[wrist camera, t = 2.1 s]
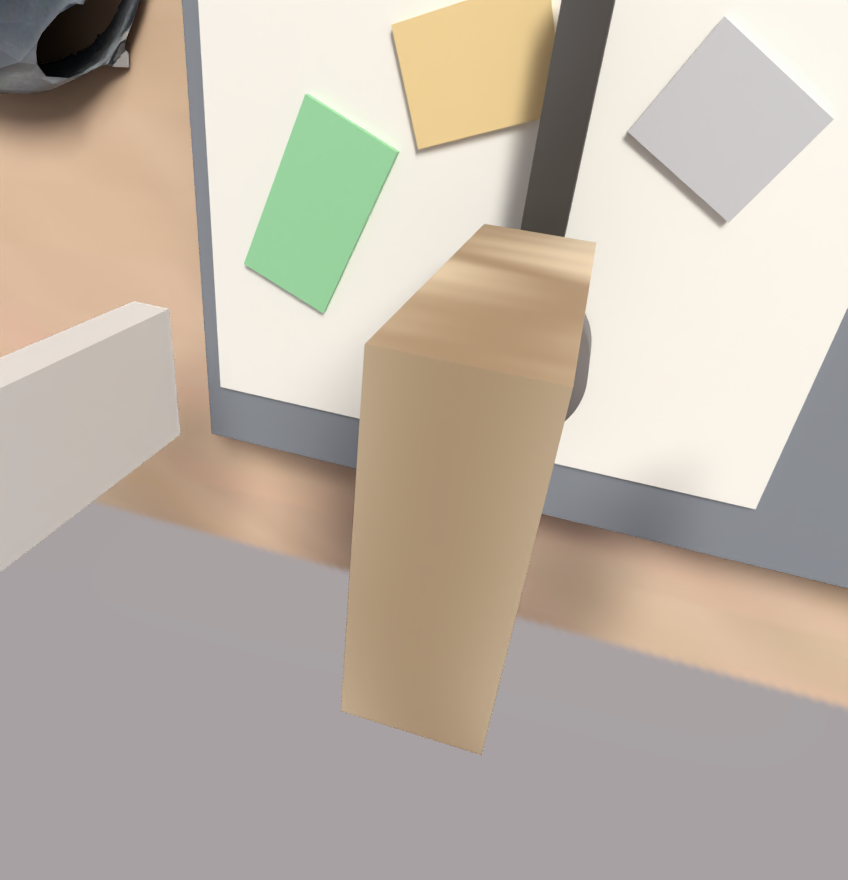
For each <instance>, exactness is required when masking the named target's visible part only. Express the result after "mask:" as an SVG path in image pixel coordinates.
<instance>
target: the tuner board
mask: <svg viewBox="0 0 848 880" xmlns="http://www.w3.org/2000/svg"><path fill="white" fill-rule="evenodd" d="M560 5H561V0H182V8H183V22H184V37H185V51H186V66H187V81H188V95H189V110H190V124H191V139H192V153H193V168H194V182H195V197H196V212H197V226H198V241H199V255H200V270H201V284H202V299H203V313H204V328H205V343H206V357H207V372H208V386H209V401H210V415H211V430H212V434H216V435H220V436H224V437H228V438H232V439H236V440H240V441H245V442H249V443H253V444H257V445H261V446H265V447H269V448H273V449H277V450H282V451H286V452H290V453H294V454H298V455H302V456H306V457H310V458H314V459H319V460H323V461H327V462H331V463H335V464H339V465H343V466H347V467H351V468H357V453H358V437H359V422H360V407H361V391H362V376H363V360H364V345H365V343H366V342H367V341H368V340H369V339H370V338H371V337H372V336H373V335H374V334H375V333H376V332H377V331H378V330H379V329H380V328H381V327H382V326H383V325H384V324H385V323H386V322H387V321H388V320H389V319H390V318H391V317H392V316H393V315H394V314H395V313H396V312H397V311H398V310H399V309H400V308H401V307H402V306H403V305H404V304H405V303H406V302H407V301H408V300H409V299H410V298H411V297H412V296H413V295H414V294H415V293H416V292H417V291H418V290H419V289H420V288H421V287H422V286H423V285H424V284H425V283H426V282H427V281H428V280H429V279H430V278H431V277H432V276H433V275H434V274H435V273H436V272H437V271H438V270H439V269H440V268H441V267H442V266H443V265H444V264H445V263H446V262H447V261H448V260H449V259H450V258H451V257H452V256H453V255H454V254H455V253H456V252H457V251H458V250H459V249H460V248H461V247H462V246H463V245H464V244H465V243H466V242H467V241H468V240H469V239H470V238H471V237H472V236H473V235H474V234H475V233H476V232H477V231H478V230H479V229H480V228H481V227H482V226H483V225H484V224H489V225H495V226H500V227H506V228H512V229H518V230H520V229H521V224H522V218H523V212H524V207H525V201H526V196H527V190H528V185H529V179H530V173H531V168H532V162H533V157H534V151H535V145H536V140H537V134H538V129H539V123H540V117H541V112H542V106H543V101H544V95H545V89H546V84H547V78H548V73H549V67H550V61H551V56H552V50H553V45H554V39H555V33H556V28H557V22H558V17H559V11H560ZM565 237H566V238H572V239H578V240H584V241H590V242H596V248H595V254H594V261H593V267H592V273H591V279H590V286H589V292H588V298H587V304H586V311H585V314H586V316H587V319H588V321H589V325H590V329H591V337H592V343H591V355H590V363H589V372H588V380H587V386H586V390H585V393H584V396H583V398H582V400H581V402H580V404H579V406H578V407H577V409H576V410H575V412H574V413H573V414H572V415H571V416H570V417H569V418H568V419H567V420H566V421H565V422H564V426H563V430H562V434H561V438H560V442H559V446H558V450H557V454H556V458H555V462H554V466H553V470H552V474H551V478H550V482H549V486H548V490H547V494H546V498H545V502H544V506H543V510H542V514H545V515H549V516H553V517H557V518H561V519H565V520H569V521H573V522H577V523H582V524H586V525H590V526H594V527H598V528H602V529H606V530H610V531H614V532H619V533H623V534H627V535H631V536H635V537H639V538H643V539H647V540H651V541H656V542H660V543H664V544H668V545H672V546H676V547H680V548H684V549H688V550H693V551H697V552H701V553H705V554H709V555H713V556H717V557H721V558H725V559H729V560H734V561H738V562H742V563H746V564H750V565H754V566H758V567H762V568H766V569H771V570H775V571H779V572H783V573H787V574H791V575H795V576H799V577H803V578H808V579H812V580H816V581H820V582H824V583H828V584H832V585H836V586H840V587H845V588H848V0H616V1H615V5H614V10H613V15H612V19H611V24H610V29H609V33H608V38H607V43H606V47H605V52H604V57H603V61H602V66H601V71H600V75H599V80H598V85H597V89H596V94H595V99H594V103H593V108H592V113H591V118H590V122H589V127H588V132H587V136H586V141H585V146H584V150H583V155H582V160H581V164H580V169H579V174H578V178H577V183H576V188H575V192H574V197H573V202H572V206H571V211H570V216H569V220H568V225H567V230H566V234H565Z"/></svg>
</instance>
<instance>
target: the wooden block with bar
mask: <svg viewBox="0 0 848 880" xmlns="http://www.w3.org/2000/svg"><path fill="white" fill-rule="evenodd" d="M615 1H616V0H561V5H560V11H559V17H558V22H557V28H556V33H555V39H554V45H553V50H552V56H551V61H550V67H549V73H548V78H547V84H546V89H545V95H544V101H543V106H542V112H541V117H540V123H539V129H538V134H537V140H536V145H535V151H534V157H533V162H532V168H531V173H530V179H529V185H528V190H527V196H526V201H525V207H524V212H523V218H522V224H521V229H520V230H518V229H512V228H506V227H500V226H495V225H489V224H484V225H483V226H482V227H481V228H480V229H479V230H478V231H477V232H476V233H475V234H474V235H473V236H472V237H471V238H470V239H469V240H468V241H467V242H466V243H465V244H464V245H463V246H462V247H461V248H460V249H459V250H458V251H457V252H456V253H455V254H454V255H453V256H452V257H451V258H450V259H449V260H448V261H447V262H446V263H445V264H444V265H443V266H442V267H441V268H440V269H439V270H438V271H437V272H436V273H435V274H434V275H433V276H432V277H431V278H430V279H429V280H428V281H427V282H426V283H425V284H424V285H423V286H422V287H421V288H420V289H419V290H418V291H417V292H416V293H415V294H414V295H413V296H412V297H411V298H410V299H409V300H408V301H407V302H406V303H405V304H404V305H403V306H402V307H401V308H400V309H399V310H398V311H397V312H396V313H395V314H394V315H393V316H392V317H391V318H390V319H389V320H388V321H387V322H386V323H385V324H384V325H383V326H382V327H381V328H380V329H379V330H378V331H377V332H376V333H375V334H374V335H373V336H372V337H371V338H370V339H369V340H368V341H367V342H366V343H365V345H364V360H363V376H362V391H361V407H360V422H359V437H358V453H357V468H356V484H355V499H354V515H353V530H352V545H351V561H350V576H349V592H348V607H347V624H346V638H345V653H344V671H343V686H342V700H341V711H343V712H346V713H349V714H352V715H355V716H358V717H362V718H365V719H368V720H371V721H374V722H378V723H381V724H384V725H387V726H390V727H393V728H397V729H400V730H403V731H406V732H409V733H412V734H416V735H419V736H422V737H425V738H428V739H432V740H435V741H438V742H441V743H444V744H448V745H451V746H454V747H457V748H460V749H464V750H467V751H470V752H473V753H476V754H480V755H482V751H483V747H484V743H485V739H486V735H487V731H488V727H489V723H490V719H491V715H492V711H493V707H494V702H495V699H496V695H497V691H498V687H499V683H500V679H501V675H502V671H503V667H504V663H505V659H506V655H507V651H508V646H509V643H510V639H511V635H512V631H513V627H514V623H515V619H516V615H517V611H518V607H519V603H520V599H521V595H522V591H523V587H524V583H525V579H526V575H527V571H528V567H529V563H530V559H531V555H532V551H533V547H534V543H535V539H536V535H537V531H538V527H539V523H540V518H541V514H542V510H543V506H544V502H545V498H546V494H547V490H548V486H549V482H550V478H551V474H552V470H553V466H554V462H555V458H556V454H557V450H558V446H559V442H560V438H561V434H562V430H563V426H564V422H565V421H566V420H567V419H568V418H569V417H570V416H571V415H572V414H573V413H574V412H575V410H576V409H577V407H578V406H579V404H580V402H581V400H582V398H583V396H584V393H585V390H586V386H587V380H588V372H589V363H590V355H591V343H592V337H591V329H590V325H589V321H588V319H587V316H586V314H585V311H586V304H587V298H588V292H589V286H590V279H591V273H592V267H593V261H594V254H595V248H596V242H590V241H584V240H578V239H572V238H566V237H565V234H566V230H567V225H568V220H569V216H570V211H571V206H572V202H573V197H574V192H575V188H576V183H577V178H578V174H579V169H580V164H581V160H582V155H583V150H584V146H585V141H586V136H587V132H588V127H589V122H590V118H591V113H592V108H593V103H594V99H595V94H596V89H597V85H598V80H599V75H600V71H601V66H602V61H603V57H604V52H605V47H606V43H607V38H608V33H609V29H610V24H611V19H612V15H613V10H614V5H615Z"/></svg>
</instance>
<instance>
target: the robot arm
mask: <svg viewBox="0 0 848 880" xmlns="http://www.w3.org/2000/svg"><path fill="white" fill-rule="evenodd" d="M180 434H181V433H180V422H179V411H178V400H177V389H176V378H175V367H174V356H173V345H172V334H171V323H170V312H169V309H168V308H163V307H159V306H154V305H149V304H145V303H140V302H135V301H133V302H131V303H128V304H126V305H124V306H121V307H119V308H117V309H114V310H112V311H109V312H107V313H105V314H102V315H100V316H98V317H95V318H93V319H90V320H88V321H86V322H83V323H81V324H79V325H76V326H74V327H71V328H69V329H67V330H64V331H62V332H60V333H57V334H55V335H52V336H50V337H48V338H45V339H43V340H41V341H38V342H36V343H34V344H31V345H29V346H26V347H24V348H22V349H19V350H17V351H15V352H12V353H10V354H7V355H5V356H3V357H0V572H1V571H2V570H4V569H5V568H6V567H8V566H9V565H10V564H12V563H13V562H14V561H16V559H18V558H19V557H21V556H22V555H23V554H25V553H26V552H27V551H28V550H30V549H31V548H33V547H34V546H35V545H36V544H38V543H39V542H40V541H41V540H43V539H44V538H46V537H47V536H48V535H49V534H51V533H52V532H53V531H55V530H56V529H57V528H59V527H60V526H61V525H63V524H64V523H65V522H66V521H68V520H69V519H70V518H72V517H73V516H74V515H76V514H77V513H78V512H79V511H81V510H82V509H83V508H84V507H86V506H87V505H89V504H90V503H91V502H93V501H94V500H95V499H97V498H98V497H99V496H101V495H102V494H103V493H104V492H106V491H107V490H108V489H110V488H111V487H112V486H114V485H115V484H116V483H118V482H119V481H120V480H121V479H123V478H124V477H125V476H127V475H128V474H129V473H131V472H132V471H133V470H135V469H136V468H137V467H138V466H140V465H141V464H142V463H144V462H145V461H146V460H148V459H149V458H150V457H152V456H153V455H154V454H155V453H157V452H158V451H159V450H161V449H162V448H163V447H165V446H166V445H167V444H168V443H170V442H171V441H172V440H174V439H175V438H176V437H178V436H179V435H180Z"/></svg>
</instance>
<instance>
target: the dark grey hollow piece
mask: <svg viewBox="0 0 848 880" xmlns="http://www.w3.org/2000/svg"><path fill="white" fill-rule="evenodd" d="M84 2H85V0H0V93H12V94H33V93H38V92H43V91H48V90H52V89H54V88H56V87H58V86H61V85H63V84H65V83H67V82H70V81H72V80H74V79H76V78H79V77H80V76H82V75H84V74H86V73H88V72H90V71H92V70H94V69H96V68H97V67H100V66H104V65H107V64H108V65H109V66H113V67H129V54H128V52H127V51H126V50H125V49H124V48H125V44H126V40H127V35H128V33H129V30H130V28H131V25H132V23H133V20H134V18H135V15H136V11H137V8H138V4H139V0H122V1H121V3H120V5H119V7H118V11H117V12H116V14H115V15H114V17H113V19H112V21H111V23H110V24H109V26H108V27H107V28H106V29H105V31H104V32H103V33H101V34H98V35H97V39H96V40H95V42H94V43H92V44H91V45H90V46H88V47H86V48H85V49H83V50H81V51H78V52H77V53H76V54H69V55H68V56H66V57H64V58H62V59H58V60H55V61H50V62H46V63H43V64H41V63H39V62H37V58H36V49H37V42H38V40H39V38H40V36H41V34H42V32H43V31H44V30H45V29H46V28H47V27H48V25H49V24H50V23H51V22H52V21H53V20H54V18H55V17H56V16H57V15H58V14H59V13H61V12H63V11H65V10H66V9H68V8H70V7H72V6H74V5H76V4H84Z"/></svg>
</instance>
